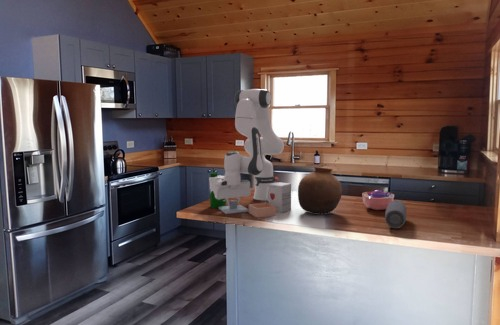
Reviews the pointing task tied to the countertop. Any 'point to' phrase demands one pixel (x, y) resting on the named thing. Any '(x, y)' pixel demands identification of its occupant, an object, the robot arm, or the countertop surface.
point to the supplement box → (280, 196)
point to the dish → (262, 210)
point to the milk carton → (213, 201)
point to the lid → (233, 208)
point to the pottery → (319, 191)
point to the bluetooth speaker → (395, 214)
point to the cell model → (377, 199)
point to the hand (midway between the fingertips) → (233, 205)
